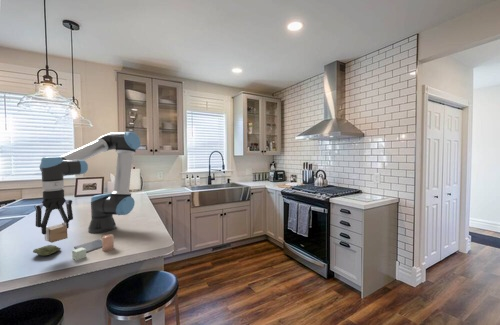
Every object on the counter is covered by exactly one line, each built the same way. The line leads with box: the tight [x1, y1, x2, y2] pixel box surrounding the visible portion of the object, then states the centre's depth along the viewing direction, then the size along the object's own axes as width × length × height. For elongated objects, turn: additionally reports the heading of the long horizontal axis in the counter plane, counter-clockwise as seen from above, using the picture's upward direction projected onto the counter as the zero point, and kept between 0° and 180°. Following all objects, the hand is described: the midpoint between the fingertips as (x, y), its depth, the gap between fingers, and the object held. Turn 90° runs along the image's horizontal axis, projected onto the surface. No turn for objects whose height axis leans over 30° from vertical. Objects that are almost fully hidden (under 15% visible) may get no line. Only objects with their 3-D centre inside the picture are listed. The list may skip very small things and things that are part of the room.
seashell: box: [32, 244, 62, 257], centre depth 110 cm, size 10×7×10 cm
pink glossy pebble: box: [101, 234, 115, 252], centre depth 115 cm, size 5×5×7 cm
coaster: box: [73, 239, 102, 254], centre depth 119 cm, size 12×12×1 cm
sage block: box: [71, 247, 87, 261], centre depth 106 cm, size 4×4×4 cm
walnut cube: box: [48, 223, 69, 244], centre depth 105 cm, size 6×6×6 cm
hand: (56, 237), depth 106 cm, fingers closed on walnut cube, 6 cm apart
